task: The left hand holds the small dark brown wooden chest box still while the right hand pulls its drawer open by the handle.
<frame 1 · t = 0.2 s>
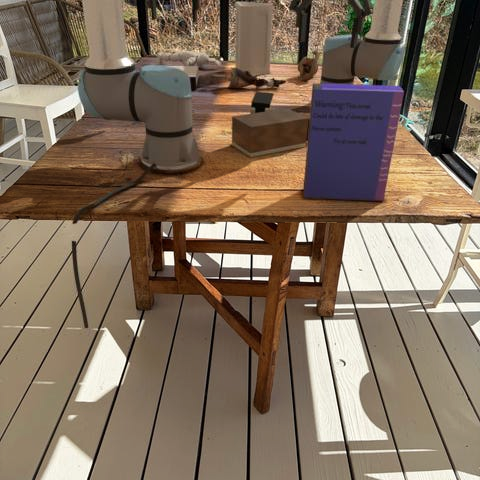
left hand: (174, 20, 152), 28 cm above the table, tool pointing down, fingers open, 13 cm apart
right hand: (326, 44, 118), 28 cm above the table, tool pointing down, fingers open, 13 cm apart
disc drive: (176, 83, 197), on the table
drawer: (287, 128, 136), point 4 cm above the table, slide at 1.2 cm
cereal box: (342, 195, 108), on the table
figurine character: (261, 120, 156), on the table
figurine: (247, 88, 192), on the table
toy: (189, 67, 225), on the table
paper bag: (253, 72, 218), on the table
wooden chest box: (268, 145, 135), on the table
anatomical model: (306, 78, 209), on the table
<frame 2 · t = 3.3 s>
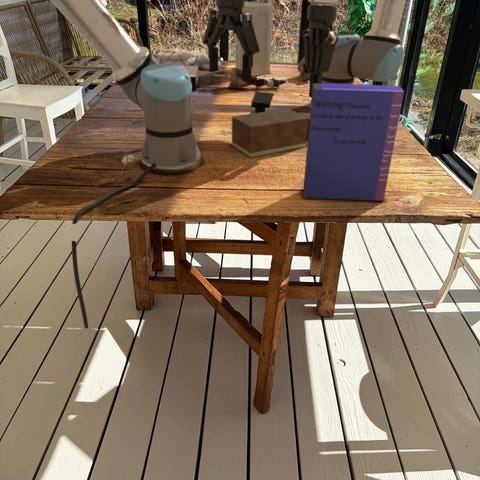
left hand: (229, 75, 134), 17 cm above the table, tool pointing down, fingers open, 13 cm apart
right hand: (314, 96, 135), 12 cm above the table, tool pointing down, fingers closed
nothing on the table moved.
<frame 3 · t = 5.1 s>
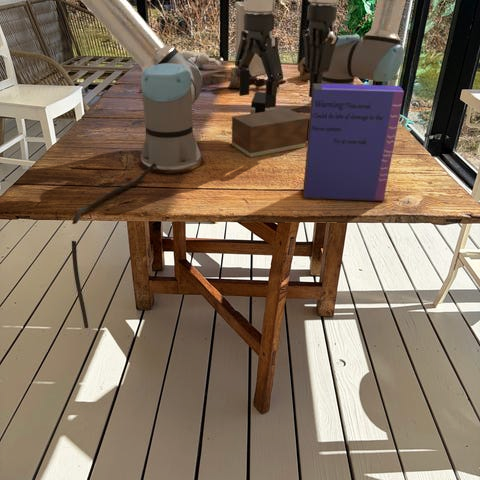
left hand: (256, 100, 127), 13 cm above the table, tool pointing down, fingers open, 13 cm apart
right hand: (314, 96, 135), 12 cm above the table, tool pointing down, fingers closed
nothing on the table moved.
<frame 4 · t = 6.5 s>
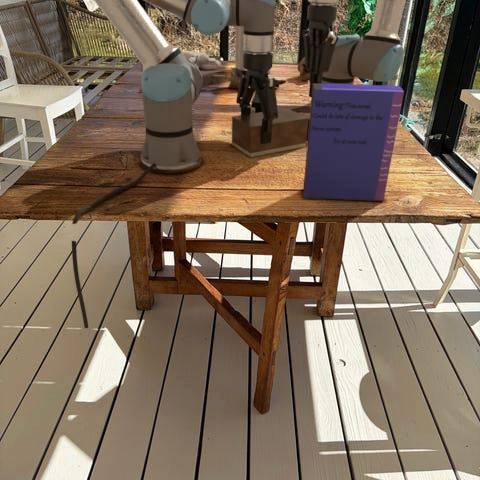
left hand: (255, 136, 132), 3 cm above the table, tool pointing down, fingers closed on wooden chest box, 11 cm apart
right hand: (314, 96, 135), 12 cm above the table, tool pointing down, fingers closed
wooden chest box: (268, 145, 135), on the table, touching left hand
everything else where it was.
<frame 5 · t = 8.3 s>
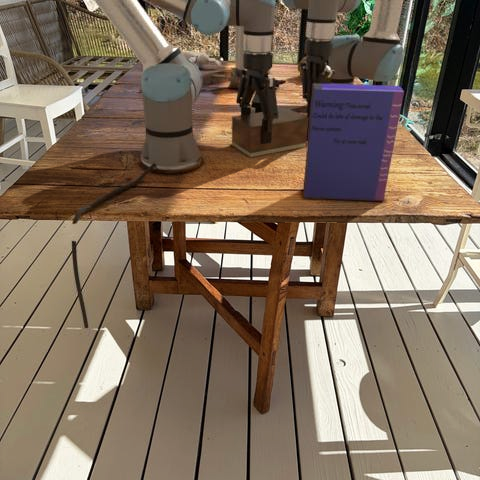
left hand: (255, 136, 132), 3 cm above the table, tool pointing down, fingers closed on wooden chest box, 11 cm apart
right hand: (311, 125, 139), 4 cm above the table, tool pointing down, fingers closed
drawer: (287, 128, 136), point 4 cm above the table, slide at 1.2 cm, touching right hand
wooden chest box: (268, 145, 135), on the table, touching left hand
everything else where it was.
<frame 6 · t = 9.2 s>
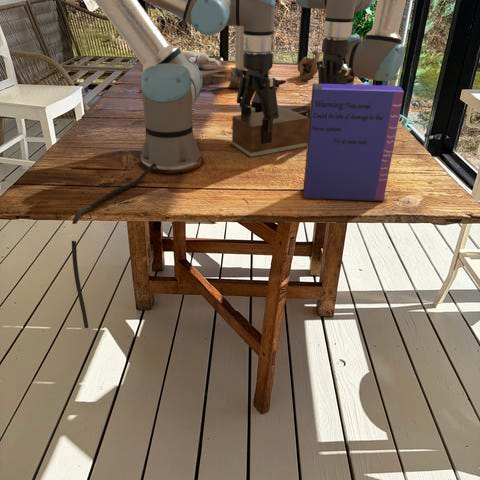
left hand: (255, 136, 132), 3 cm above the table, tool pointing down, fingers closed on wooden chest box, 11 cm apart
right hand: (327, 123, 142), 4 cm above the table, tool pointing down, fingers closed
drawer: (303, 125, 138), point 4 cm above the table, slide at 6.9 cm, touching right hand
wooden chest box: (269, 145, 135), on the table, touching left hand
everything else where it was.
when the left hand's fingers open (3 cm above the table, at t = 11.1 s): wooden chest box stays where it is, on the table.
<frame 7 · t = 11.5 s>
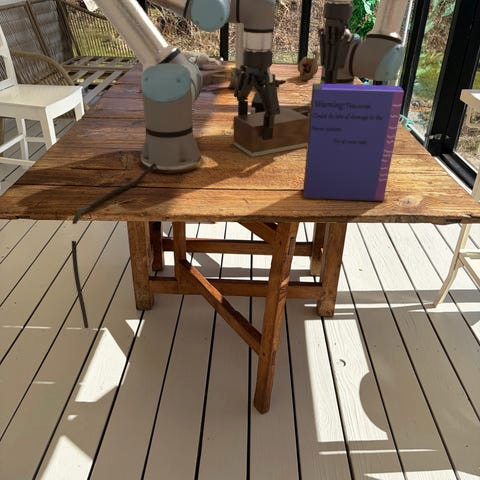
left hand: (254, 131, 131), 5 cm above the table, tool pointing down, fingers open, 13 cm apart
right hand: (328, 93, 137), 12 cm above the table, tool pointing down, fingers closed
drawer: (305, 125, 138), point 4 cm above the table, slide at 7.2 cm
wooden chest box: (270, 145, 135), on the table
everything else where it was.
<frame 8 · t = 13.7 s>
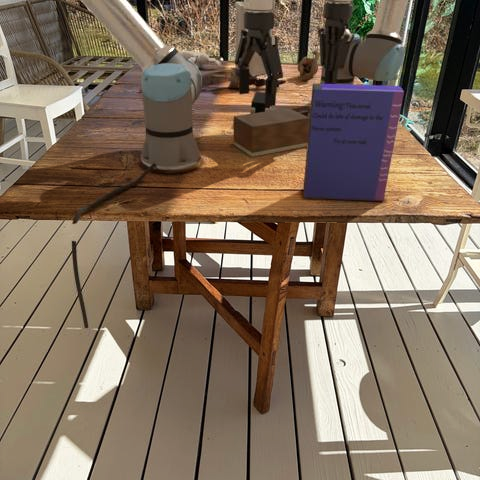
left hand: (256, 99, 126), 14 cm above the table, tool pointing down, fingers open, 13 cm apart
right hand: (328, 93, 137), 12 cm above the table, tool pointing down, fingers closed
nothing on the table moved.
at the end: drawer slide at 7.2 cm; wooden chest box tilted 0°; wooden chest box never tilted more than 3° during the clip; wooden chest box moved 0.5 cm from its start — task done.
